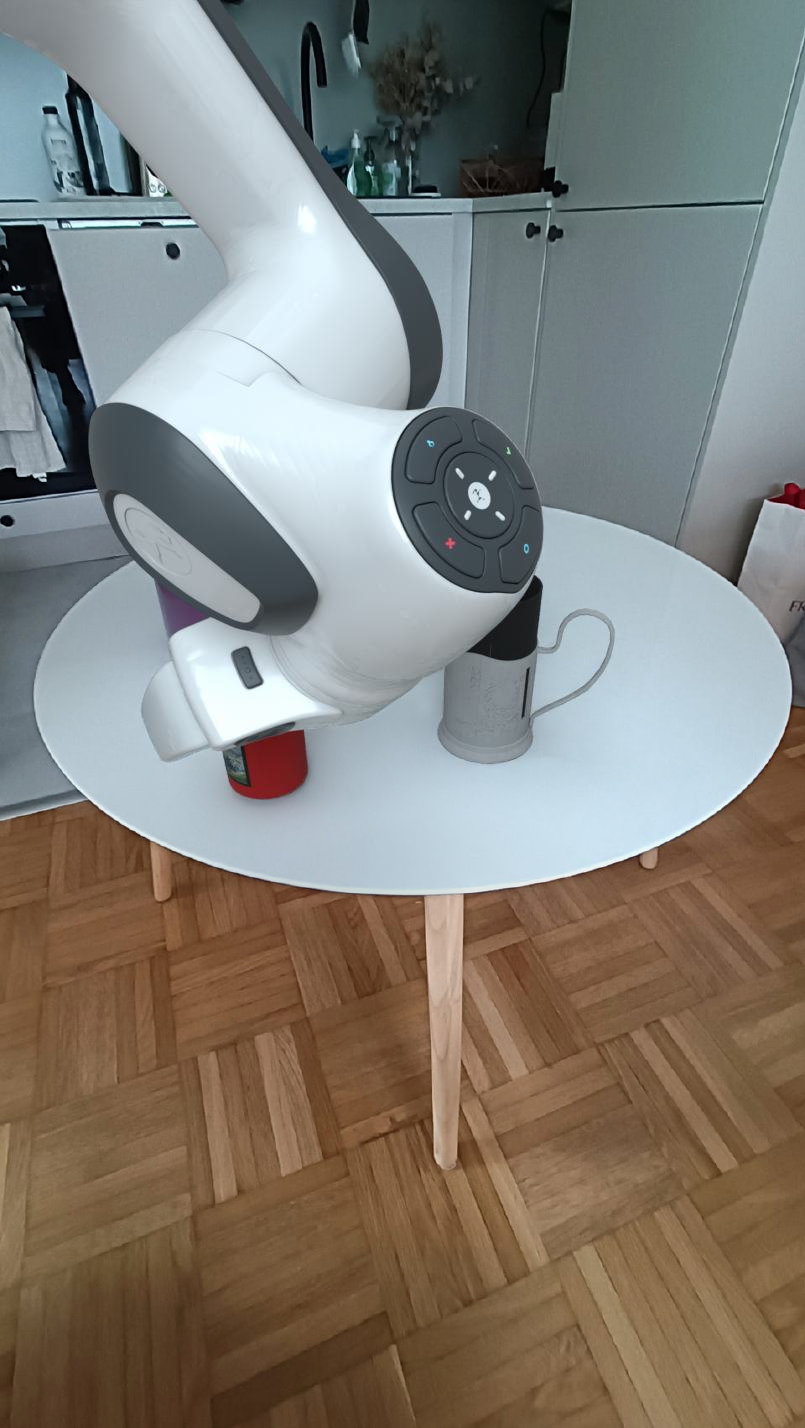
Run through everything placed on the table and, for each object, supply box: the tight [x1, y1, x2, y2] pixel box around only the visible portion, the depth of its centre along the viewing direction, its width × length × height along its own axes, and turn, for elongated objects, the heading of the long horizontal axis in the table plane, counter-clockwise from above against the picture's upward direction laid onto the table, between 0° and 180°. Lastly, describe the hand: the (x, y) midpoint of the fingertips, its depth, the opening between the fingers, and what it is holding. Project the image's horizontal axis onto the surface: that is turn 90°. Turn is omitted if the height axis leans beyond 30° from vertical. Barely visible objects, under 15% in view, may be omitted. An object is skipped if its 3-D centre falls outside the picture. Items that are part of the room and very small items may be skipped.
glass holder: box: [437, 574, 616, 764], centre depth 61 cm, size 9×14×15 cm, turn 72°
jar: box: [153, 579, 210, 642], centre depth 79 cm, size 12×12×11 cm
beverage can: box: [221, 729, 309, 800], centre depth 58 cm, size 7×7×12 cm
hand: (280, 704), depth 52 cm, fingers open, 8 cm apart
